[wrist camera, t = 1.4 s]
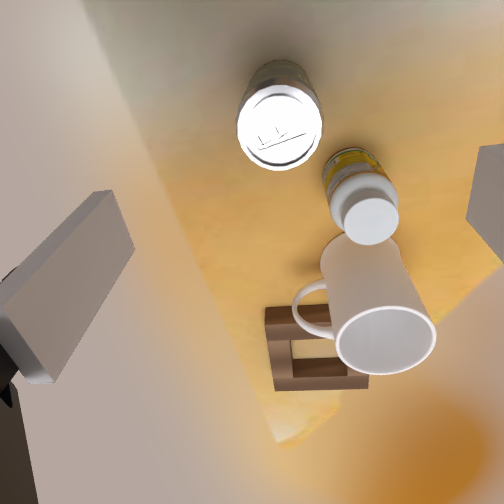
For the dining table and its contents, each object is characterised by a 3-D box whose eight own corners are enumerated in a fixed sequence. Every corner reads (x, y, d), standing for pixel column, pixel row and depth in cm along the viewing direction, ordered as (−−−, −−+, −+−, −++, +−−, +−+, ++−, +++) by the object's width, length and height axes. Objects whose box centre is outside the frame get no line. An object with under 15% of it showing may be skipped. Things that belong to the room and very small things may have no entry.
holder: (265, 307, 45) (264, 325, 42) (366, 301, 43) (371, 319, 41) (275, 372, 51) (275, 391, 49) (363, 369, 49) (368, 388, 47)
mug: (291, 293, 43) (294, 377, 33) (289, 230, 39) (292, 305, 29) (394, 291, 42) (429, 377, 32) (405, 226, 38) (450, 303, 27)
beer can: (267, 136, 34) (261, 188, 23) (237, 80, 31) (216, 111, 21) (321, 106, 32) (340, 148, 22) (294, 45, 29) (301, 59, 19)
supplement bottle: (317, 155, 34) (328, 198, 26) (376, 140, 33) (406, 179, 25) (327, 206, 37) (340, 258, 29) (382, 193, 36) (411, 245, 28)
